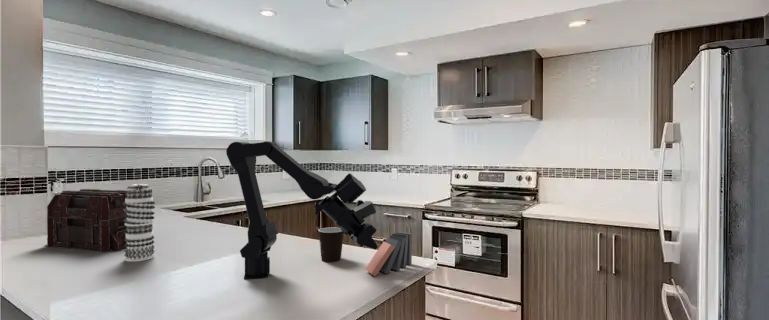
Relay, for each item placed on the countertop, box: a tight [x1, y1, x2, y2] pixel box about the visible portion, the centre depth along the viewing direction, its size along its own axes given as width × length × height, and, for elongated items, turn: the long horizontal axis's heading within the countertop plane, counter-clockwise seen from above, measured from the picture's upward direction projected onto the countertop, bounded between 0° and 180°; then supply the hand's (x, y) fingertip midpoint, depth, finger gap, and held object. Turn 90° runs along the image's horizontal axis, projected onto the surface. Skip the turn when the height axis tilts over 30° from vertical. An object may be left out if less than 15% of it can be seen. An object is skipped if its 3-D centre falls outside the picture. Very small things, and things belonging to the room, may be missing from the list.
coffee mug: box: [317, 226, 345, 263], centre depth 130 cm, size 12×9×10 cm
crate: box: [46, 188, 127, 253], centre depth 150 cm, size 35×19×21 cm, turn 75°
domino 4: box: [389, 234, 406, 272], centre depth 119 cm, size 2×5×10 cm, turn 52°
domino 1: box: [364, 240, 394, 277], centre depth 115 cm, size 2×5×10 cm
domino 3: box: [391, 232, 408, 269], centre depth 122 cm, size 2×5×10 cm, turn 61°
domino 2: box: [379, 237, 401, 275], centre depth 117 cm, size 2×5×10 cm, turn 38°
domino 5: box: [395, 231, 413, 266], centre depth 125 cm, size 2×5×10 cm, turn 61°
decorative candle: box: [123, 183, 156, 262], centre depth 130 cm, size 9×9×25 cm
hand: (376, 248), depth 114 cm, fingers closed
